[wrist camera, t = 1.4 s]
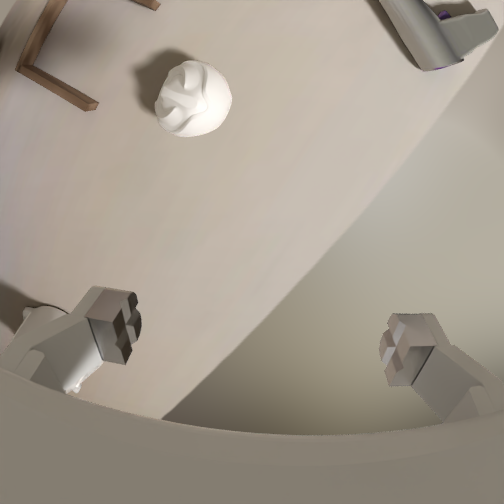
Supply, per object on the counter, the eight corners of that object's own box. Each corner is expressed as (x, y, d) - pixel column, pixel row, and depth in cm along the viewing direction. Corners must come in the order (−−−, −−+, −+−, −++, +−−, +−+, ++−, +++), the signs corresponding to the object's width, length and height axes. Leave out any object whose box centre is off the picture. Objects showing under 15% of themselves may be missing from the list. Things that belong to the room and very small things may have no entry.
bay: (95, 109, 31) (85, 111, 29) (26, 69, 28) (14, 70, 26) (160, 4, 25) (153, -2, 23) (79, -26, 22) (69, -31, 20)
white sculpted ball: (185, 56, 29) (164, 46, 22) (247, 81, 30) (242, 75, 23) (156, 119, 32) (130, 125, 25) (216, 144, 33) (203, 156, 27)
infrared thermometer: (486, 39, 24) (421, 79, 28) (437, -35, 20) (362, -5, 24) (507, 36, 20) (442, 77, 24) (455, -45, 16) (377, -17, 20)
